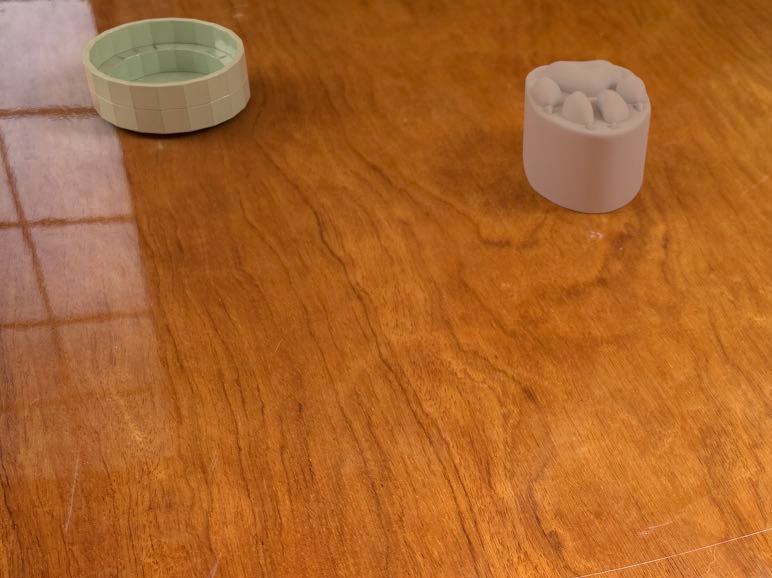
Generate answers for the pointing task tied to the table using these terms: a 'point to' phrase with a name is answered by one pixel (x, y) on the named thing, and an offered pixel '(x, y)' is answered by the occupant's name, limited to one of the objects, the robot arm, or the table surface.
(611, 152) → the lumpy-topped squat cylinder
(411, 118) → the table surface
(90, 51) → the bowl
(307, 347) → the table surface
